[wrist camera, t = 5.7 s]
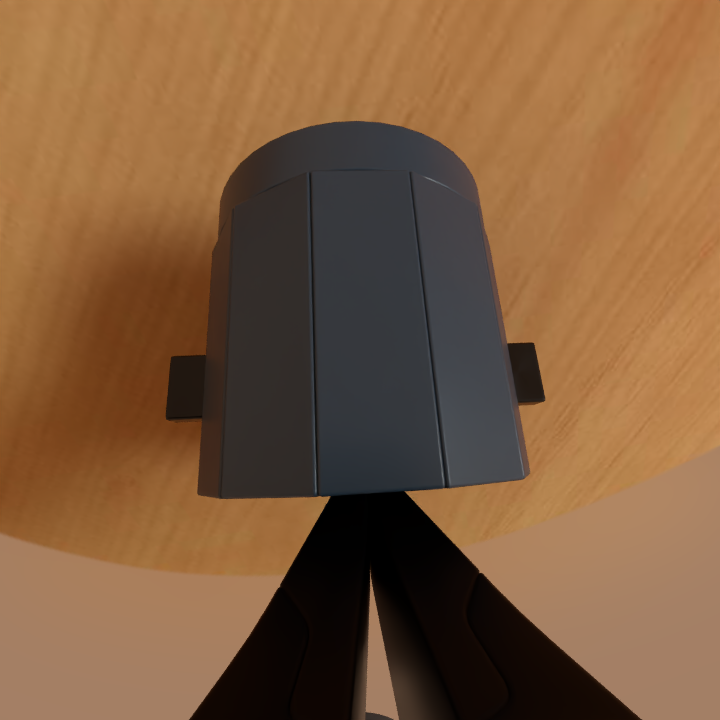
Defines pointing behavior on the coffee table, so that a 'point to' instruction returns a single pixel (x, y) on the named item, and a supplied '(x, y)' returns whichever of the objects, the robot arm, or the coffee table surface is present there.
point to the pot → (354, 326)
